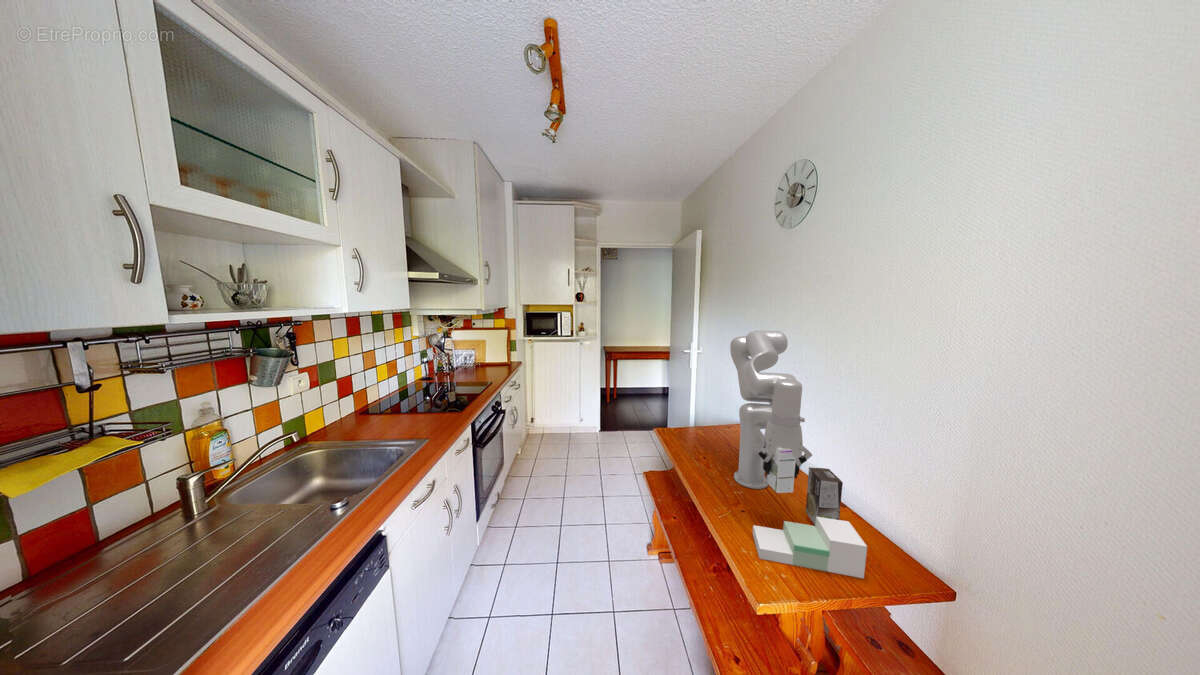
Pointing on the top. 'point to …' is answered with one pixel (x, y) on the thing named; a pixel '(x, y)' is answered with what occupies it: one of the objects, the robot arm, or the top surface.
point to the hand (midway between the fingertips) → (780, 473)
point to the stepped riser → (814, 546)
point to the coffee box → (823, 494)
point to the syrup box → (782, 471)
